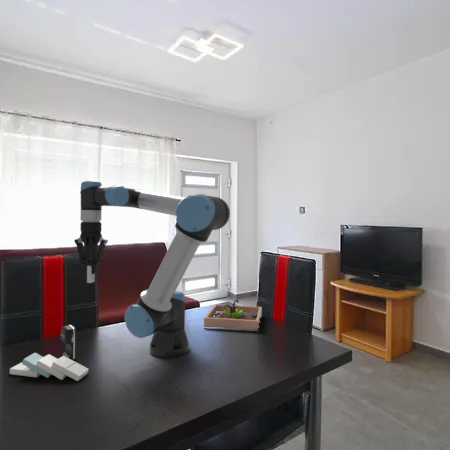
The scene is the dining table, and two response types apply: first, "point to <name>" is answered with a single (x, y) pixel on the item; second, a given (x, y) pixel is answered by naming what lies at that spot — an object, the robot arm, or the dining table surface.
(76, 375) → the domino
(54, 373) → the domino
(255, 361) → the dining table surface
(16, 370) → the end domino
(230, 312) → the plant
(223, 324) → the planter corral
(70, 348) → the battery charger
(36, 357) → the domino
